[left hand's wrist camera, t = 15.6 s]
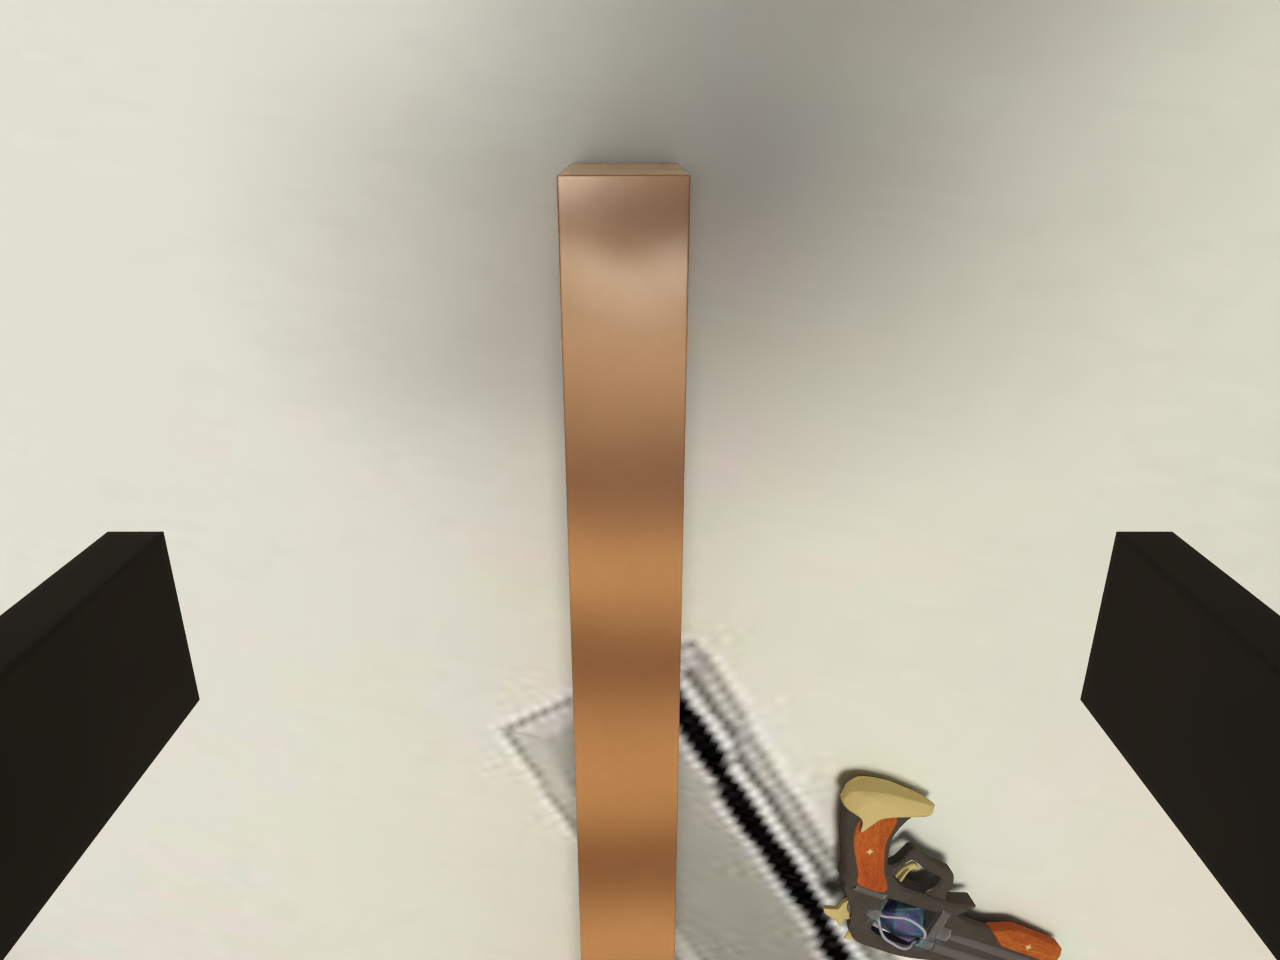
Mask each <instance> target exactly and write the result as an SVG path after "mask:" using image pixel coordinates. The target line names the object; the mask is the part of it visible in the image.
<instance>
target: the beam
mask: <svg viewBox="0 0 1280 960" xmlns="http://www.w3.org/2000/svg"><path fill="white" fill-rule="evenodd" d="M557 199H558V231H559V263H560V295H561V327H562V360H563V392H564V424H565V456H566V488H567V520H568V552H569V584H570V616H571V648H572V680H573V712H574V744H575V776H576V808H577V840H578V872H579V904H580V936H581V960H674V949H675V900H676V851H677V802H678V753H679V704H680V655H681V606H682V557H683V509H684V460H685V411H686V362H687V313H688V264H689V215H690V175H689V174H688V173H687V172H686V171H685V170H684V169H682V168H681V167H680V166H679V165H678V164H677V163H572V164H571V165H570V166H568V167H567V168H566V169H565V170H563V171H562V172H561V173H560V174H558V175H557Z"/></svg>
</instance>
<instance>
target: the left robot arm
mask: <svg viewBox="0 0 1280 960" xmlns="http://www.w3.org/2000/svg"><path fill="white" fill-rule="evenodd" d="M199 700H200V699H199V695H198V690H197V685H196V681H195V676H194V671H193V667H192V662H191V657H190V653H189V648H188V644H187V639H186V634H185V630H184V625H183V620H182V616H181V611H180V606H179V602H178V597H177V593H176V588H175V583H174V579H173V574H172V569H171V565H170V560H169V555H168V551H167V546H166V541H165V537H164V532H107V533H106V534H104V535H103V536H102V537H100V538H99V539H98V540H97V541H95V542H94V543H93V544H91V545H90V546H89V547H88V548H86V549H85V550H84V551H83V552H81V553H80V554H79V555H77V556H76V557H75V558H74V559H72V560H71V561H70V562H68V563H67V564H66V565H65V566H63V567H62V568H61V569H59V570H58V571H57V572H56V573H54V574H53V575H52V576H50V577H49V578H48V579H47V580H45V581H44V582H43V583H42V584H40V585H39V586H38V587H36V588H35V589H34V590H33V591H31V592H30V593H29V594H27V595H26V596H25V597H24V598H22V599H21V600H20V601H18V602H17V603H16V604H15V605H13V606H12V607H11V608H9V609H8V610H7V611H6V612H4V613H3V614H2V615H1V616H0V960H3V959H4V958H5V957H6V955H7V954H8V953H9V951H10V950H11V949H12V947H13V946H14V945H15V943H16V942H17V941H18V939H19V938H20V937H21V935H22V934H23V933H24V931H25V930H26V929H27V927H28V926H29V925H30V923H31V922H32V921H33V920H34V918H35V917H36V916H37V914H38V913H39V912H40V910H41V909H42V908H43V906H44V905H45V904H46V902H47V901H48V900H49V898H50V897H51V896H52V894H53V893H54V892H55V890H56V889H57V888H58V886H59V885H60V884H61V882H62V881H63V880H64V878H65V877H66V876H67V874H68V873H69V872H70V871H71V869H72V868H73V867H74V865H75V864H76V863H77V861H78V860H79V859H80V857H81V856H82V855H83V853H84V852H85V851H86V849H87V848H88V847H89V845H90V844H91V843H92V841H93V840H94V839H95V837H96V836H97V835H98V833H99V832H100V831H101V829H102V828H103V827H104V825H105V824H106V823H107V822H108V820H109V819H110V818H111V816H112V815H113V814H114V812H115V811H116V810H117V808H118V807H119V806H120V804H121V803H122V802H123V800H124V799H125V798H126V796H127V795H128V794H129V792H130V791H131V790H132V788H133V787H134V786H135V784H136V783H137V782H138V780H139V779H140V778H141V776H142V775H143V774H144V773H145V771H146V770H147V769H148V767H149V766H150V765H151V763H152V762H153V761H154V759H155V758H156V757H157V755H158V754H159V753H160V751H161V750H162V749H163V747H164V746H165V745H166V743H167V742H168V741H169V739H170V738H171V737H172V735H173V734H174V733H175V731H176V730H177V729H178V727H179V726H180V725H181V724H182V722H183V721H184V720H185V718H186V717H187V716H188V714H189V713H190V712H191V710H192V709H193V708H194V706H195V705H196V704H197V702H198V701H199ZM1080 700H1081V701H1082V702H1083V704H1084V705H1085V706H1086V708H1087V709H1088V710H1089V712H1090V713H1091V714H1092V716H1093V717H1094V718H1095V720H1096V721H1097V722H1098V724H1099V725H1100V726H1101V727H1102V729H1103V730H1104V731H1105V733H1106V734H1107V735H1108V737H1109V738H1110V739H1111V741H1112V742H1113V743H1114V745H1115V746H1116V747H1117V749H1118V750H1119V751H1120V753H1121V754H1122V755H1123V757H1124V758H1125V759H1126V761H1127V762H1128V763H1129V765H1130V766H1131V767H1132V769H1133V770H1134V771H1135V773H1136V774H1137V775H1138V776H1139V778H1140V779H1141V780H1142V782H1143V783H1144V784H1145V786H1146V787H1147V788H1148V790H1149V791H1150V792H1151V794H1152V795H1153V796H1154V798H1155V799H1156V800H1157V802H1158V803H1159V804H1160V806H1161V807H1162V808H1163V810H1164V811H1165V812H1166V814H1167V815H1168V816H1169V818H1170V819H1171V820H1172V822H1173V823H1174V824H1175V825H1176V827H1177V828H1178V829H1179V831H1180V832H1181V833H1182V835H1183V836H1184V837H1185V839H1186V840H1187V841H1188V843H1189V844H1190V845H1191V847H1192V848H1193V849H1194V851H1195V852H1196V853H1197V855H1198V856H1199V857H1200V859H1201V860H1202V861H1203V863H1204V864H1205V865H1206V867H1207V868H1208V869H1209V871H1210V872H1211V873H1212V874H1213V876H1214V877H1215V878H1216V880H1217V881H1218V882H1219V884H1220V885H1221V886H1222V888H1223V889H1224V890H1225V892H1226V893H1227V894H1228V896H1229V897H1230V898H1231V900H1232V901H1233V902H1234V904H1235V905H1236V906H1237V908H1238V909H1239V910H1240V912H1241V913H1242V914H1243V916H1244V917H1245V918H1246V920H1247V921H1248V922H1249V923H1250V925H1251V926H1252V927H1253V929H1254V930H1255V931H1256V933H1257V934H1258V935H1259V937H1260V938H1261V939H1262V941H1263V942H1264V943H1265V945H1266V946H1267V947H1268V949H1269V950H1270V951H1271V953H1272V954H1273V955H1274V957H1275V958H1276V959H1277V960H1280V616H1279V615H1278V614H1277V613H1276V612H1274V611H1273V610H1272V609H1271V608H1269V607H1268V606H1267V605H1265V604H1264V603H1263V602H1262V601H1260V600H1259V599H1258V598H1256V597H1255V596H1254V595H1253V594H1251V593H1250V592H1249V591H1247V590H1246V589H1245V588H1244V587H1242V586H1241V585H1240V584H1238V583H1237V582H1236V581H1235V580H1233V579H1232V578H1231V577H1230V576H1228V575H1227V574H1226V573H1224V572H1223V571H1222V570H1221V569H1219V568H1218V567H1217V566H1215V565H1214V564H1213V563H1212V562H1210V561H1209V560H1208V559H1206V558H1205V557H1204V556H1203V555H1201V554H1200V553H1199V552H1197V551H1196V550H1195V549H1194V548H1192V547H1191V546H1190V545H1189V544H1187V543H1186V542H1185V541H1183V540H1182V539H1181V538H1180V537H1178V536H1177V535H1176V534H1174V533H1173V532H1116V537H1115V541H1114V546H1113V551H1112V555H1111V560H1110V565H1109V569H1108V574H1107V579H1106V583H1105V588H1104V593H1103V597H1102V602H1101V606H1100V611H1099V616H1098V620H1097V625H1096V630H1095V634H1094V639H1093V644H1092V648H1091V653H1090V657H1089V662H1088V667H1087V671H1086V676H1085V681H1084V685H1083V690H1082V695H1081V699H1080Z"/></svg>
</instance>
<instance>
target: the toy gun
mask: <svg viewBox="0 0 1280 960" xmlns="http://www.w3.org/2000/svg"><path fill="white" fill-rule="evenodd" d="M840 798H841V801H842V803H843V806H842V811H841V817H840V846H841V862H840V864H839V866H838V871H839V873H840V876H839V877H840V882H841V884H842V886H843V888H844V891H845V895H846V897H845V898H844V899H842V900H841V901H840V903H839V904H838V905H837V906H827V905H823V910H824V912H825V913H826V914H827V915H828V916H830V917H832V918H833V919H835V920H836V921H837V923H838V924H839V925H842V923H843V921H844V919H847V926H848V929H849V931H848V932H847V934H846V936H845V937H844V939H850V940H856V941H857V942H859V943H862V944H864V945H867V946H870V947H873V948H876V949H879V950H882V951H885V952H888V953H891V954H895V955H899V956H904V957H910V958H917V959H926V960H1057V959H1058V958H1059V956H1060V953H1061V947H1060V946H1059V945H1058V943H1057V942H1056V940H1055V939H1054V938H1051V937H1049V936H1047V935H1044V934H1042V933H1039V932H1037V931H1034V930H1032V929H1029V928H1027V927H1024V926H1022V925H1019V924H1016V923H1014V922H1010V921H1005V922H986V923H982V922H979V921H977V920H974V919H971V918H968V917H966V916H964V915H962V913H964V912H966V911H968V910H970V909H972V908H974V907H975V906H976V905H975V904H974V902H973V901H972V899H971V898H970V896H969V894H968V893H966V892H948V891H949V889H950V888H951V886H952V884H953V879H954V876H953V873H952V871H951V870H950V868H949V867H948V865H947V864H946V863H944V862H941V861H938V860H936V859H934V858H931V857H930V856H928V855H927V854H925V853H924V852H922V851H921V850H920V849H919V848H918V847H917V846H916V845H914V844H913V843H911V842H908V843H906V844H905V845H904V846H903V847H902V848H901V850H900V851H898V852H897V853H896V854H895V855H893V856H892V857H890V858H888V852H889V847H890V843H891V840H892V838H893V836H894V834H895V833H896V832H897V831H898V829H899V828H900V827H901V826H902V825H903V824H904V823H905V822H906V821H907V820H908V819H910V818H911V817H926V816H930V815H931V814H932V812H933V809H934V806H935V805H934V803H933V802H931V801H930V800H929V799H927V798H926V797H925V796H923V795H921V794H919V793H917V792H915V791H913V790H911V789H908V788H906V787H903V786H901V785H898V784H896V783H894V782H891V781H888V780H884V779H880V778H875V777H869V776H857V777H855V778H853V779H851V780H850V781H848V782H847V783H846V784H845V786H844V788H843V790H842V792H841V794H840ZM910 860H914V861H915V862H917V863H918V864H920V865H921V866H922V867H923V868H925V869H926V870H927V871H929V872H931V873H933V874H935V875H934V876H933V877H932V878H931V879H930V880H928V881H927V882H925V883H922V884H921V883H918V882H915V881H912V880H910V879H907V878H904V877H905V876H906V875H907V873H908V872H909V871H910V870H912V869H915V870H920V868H919V866H918V865H917V864H916V863H915V862H914V861H911V862H909V863H907V864H905V863H906V862H908V861H910ZM904 864H905V865H904ZM901 866H902V867H901ZM901 872H902V873H901ZM889 898H890V899H893V901H890V902H888V903H887V901H888V899H889ZM874 921H876V923H877V925H878V927H879V929H878V928H876V927H874V926H873V925H872V924H873V923H874ZM881 927H882V928H884V929H885V930H887V931H888V932H886V931H883V930H882V928H881ZM889 932H890V933H889Z"/></svg>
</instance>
